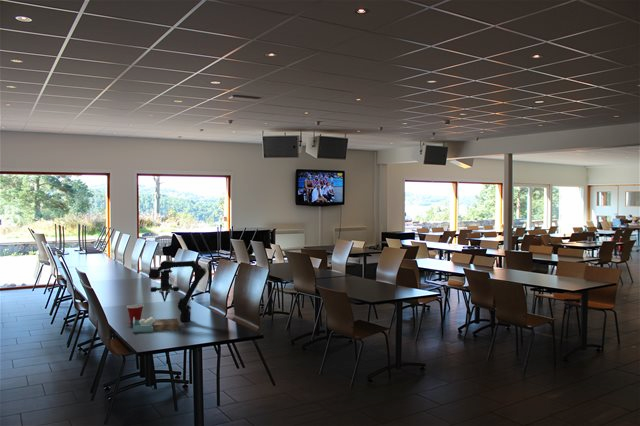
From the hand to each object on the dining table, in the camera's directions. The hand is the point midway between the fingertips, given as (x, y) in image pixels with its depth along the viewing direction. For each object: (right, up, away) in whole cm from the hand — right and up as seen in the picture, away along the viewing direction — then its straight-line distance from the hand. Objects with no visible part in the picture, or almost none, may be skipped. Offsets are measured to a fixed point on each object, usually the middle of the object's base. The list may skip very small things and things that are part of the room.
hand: (164, 301), depth 364 cm
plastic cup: (-17, -13, -10) cm, 23 cm away
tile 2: (-2, -10, -24) cm, 26 cm away
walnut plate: (+7, -14, -21) cm, 26 cm away
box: (-6, -13, -25) cm, 29 cm away
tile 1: (-5, -9, -25) cm, 27 cm away
